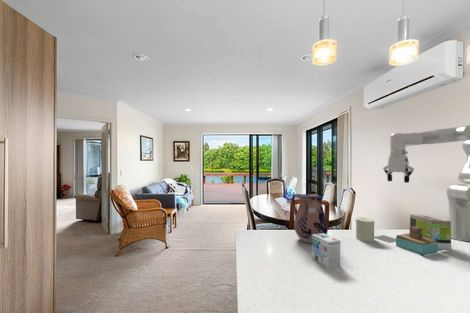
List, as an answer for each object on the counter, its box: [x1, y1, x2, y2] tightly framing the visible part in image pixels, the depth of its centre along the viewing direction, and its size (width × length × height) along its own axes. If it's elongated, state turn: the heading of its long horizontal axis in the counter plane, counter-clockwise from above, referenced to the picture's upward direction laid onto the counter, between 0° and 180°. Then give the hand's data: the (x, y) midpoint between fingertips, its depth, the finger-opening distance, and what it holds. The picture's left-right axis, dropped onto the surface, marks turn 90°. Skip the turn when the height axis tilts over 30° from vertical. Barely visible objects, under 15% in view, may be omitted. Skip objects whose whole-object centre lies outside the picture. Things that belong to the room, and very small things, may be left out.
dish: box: [395, 236, 439, 257], centre depth 113 cm, size 12×12×5 cm
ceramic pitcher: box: [290, 193, 329, 244], centre depth 125 cm, size 18×21×25 cm
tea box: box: [409, 213, 452, 251], centre depth 120 cm, size 15×10×15 cm
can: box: [355, 217, 375, 243], centre depth 126 cm, size 9×9×12 cm
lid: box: [396, 226, 437, 245], centre depth 113 cm, size 12×12×6 cm
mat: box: [374, 234, 396, 244], centre depth 127 cm, size 10×10×1 cm
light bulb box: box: [311, 233, 341, 269], centre depth 98 cm, size 11×7×11 cm, turn 19°
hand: (398, 181), depth 136 cm, fingers open, 9 cm apart
